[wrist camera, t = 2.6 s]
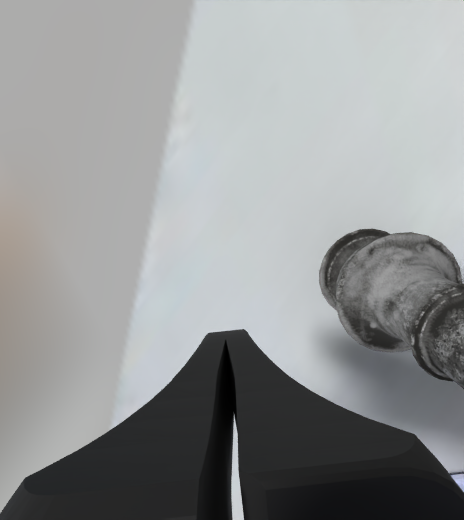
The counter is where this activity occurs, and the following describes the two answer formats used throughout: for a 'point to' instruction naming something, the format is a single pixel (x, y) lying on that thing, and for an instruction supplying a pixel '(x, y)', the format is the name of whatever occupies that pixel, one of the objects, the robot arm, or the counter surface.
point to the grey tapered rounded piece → (399, 297)
